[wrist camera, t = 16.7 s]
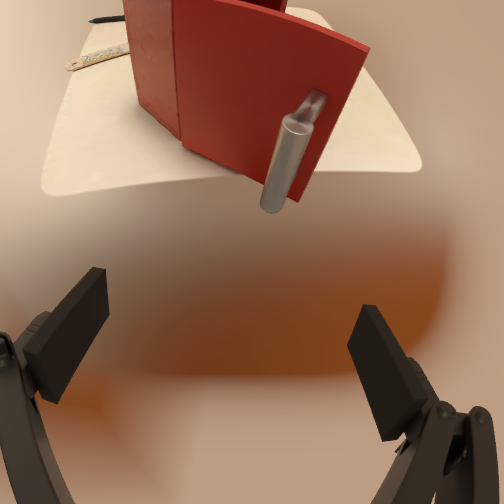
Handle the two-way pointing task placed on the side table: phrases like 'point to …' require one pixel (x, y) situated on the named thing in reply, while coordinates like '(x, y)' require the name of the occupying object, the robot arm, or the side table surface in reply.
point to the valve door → (261, 90)
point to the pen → (108, 19)
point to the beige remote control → (98, 56)
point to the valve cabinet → (160, 55)
